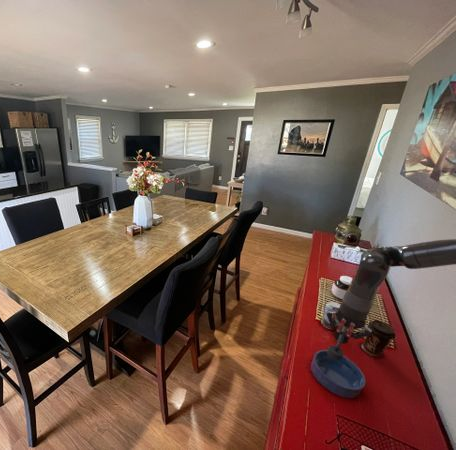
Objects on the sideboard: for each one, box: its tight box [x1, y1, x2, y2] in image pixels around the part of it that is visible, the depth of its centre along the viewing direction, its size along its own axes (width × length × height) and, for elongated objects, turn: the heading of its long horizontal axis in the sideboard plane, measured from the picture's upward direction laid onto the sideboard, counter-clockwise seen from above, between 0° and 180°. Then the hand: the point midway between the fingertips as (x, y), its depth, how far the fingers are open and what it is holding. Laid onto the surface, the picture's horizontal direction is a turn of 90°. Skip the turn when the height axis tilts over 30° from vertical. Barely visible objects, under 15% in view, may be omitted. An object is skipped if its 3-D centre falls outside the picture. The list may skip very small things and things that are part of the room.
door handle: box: [326, 326, 349, 360], centre depth 89 cm, size 15×4×7 cm, turn 134°
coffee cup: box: [361, 319, 397, 357], centre depth 97 cm, size 9×8×13 cm
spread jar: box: [331, 275, 353, 301], centre depth 130 cm, size 12×11×12 cm
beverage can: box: [320, 301, 341, 330], centre depth 109 cm, size 6×7×12 cm
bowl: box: [310, 349, 366, 399], centre depth 87 cm, size 15×15×5 cm
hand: (340, 340), depth 88 cm, fingers closed on door handle, 1 cm apart
